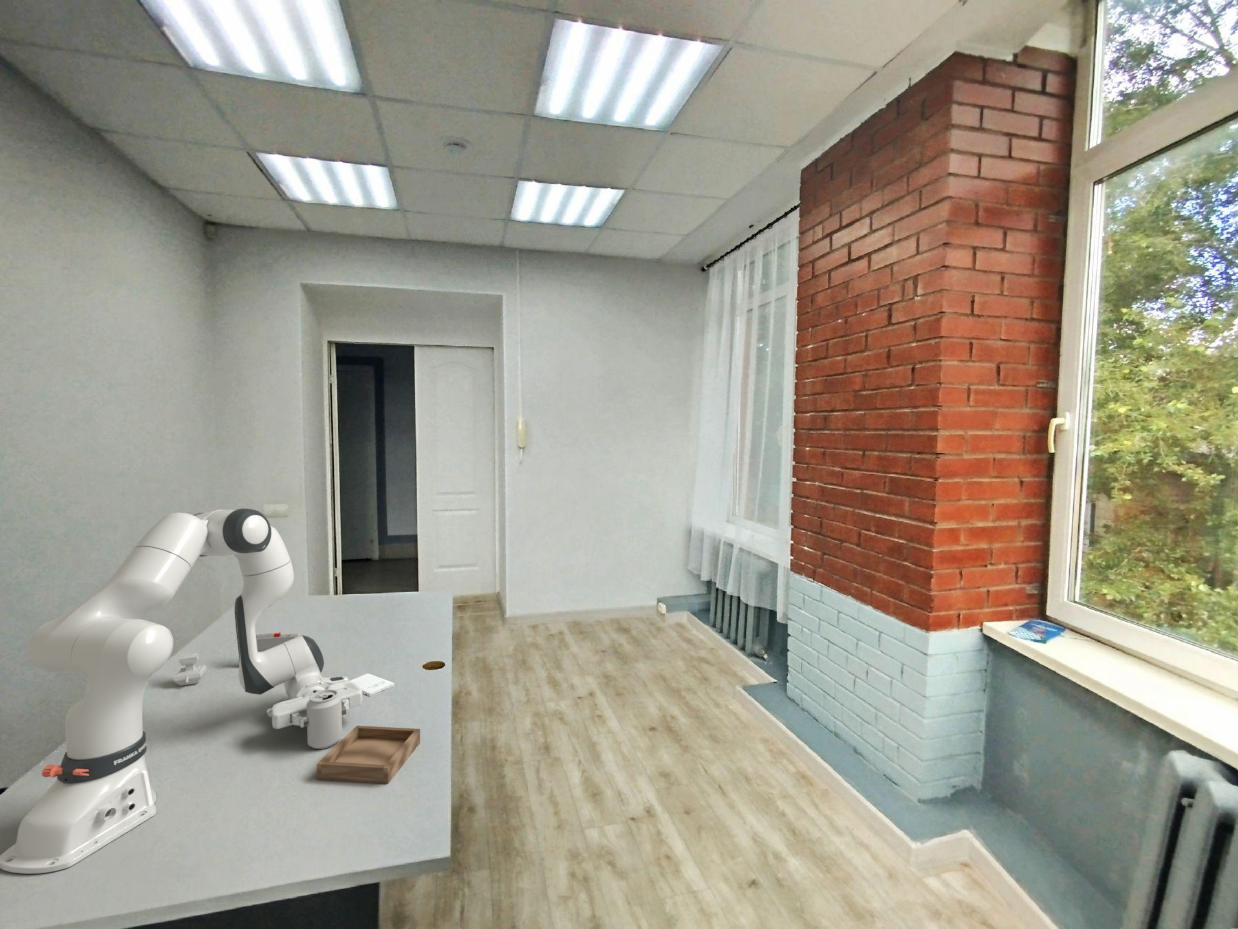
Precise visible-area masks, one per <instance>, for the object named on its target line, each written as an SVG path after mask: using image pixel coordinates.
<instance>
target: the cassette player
mask: <svg viewBox="0 0 1238 929" xmlns="http://www.w3.org/2000/svg"><path fill="white" fill-rule="evenodd" d="M298 635H299V634H298V633H288V634H281V632H271V633H257V634H256V641H257V651H258V652H263V651H265V650H268V649H270V648H273V647H275V646H278V645H280V644H282V643H284V642H287V641H289V640H291V639H294V638H296V637H299V636H298Z"/></svg>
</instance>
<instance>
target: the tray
mask: <svg viewBox="0 0 1238 929" xmlns="http://www.w3.org/2000/svg"><path fill="white" fill-rule="evenodd" d="M420 744H421V729H420V728H408V727H407V728H406V727H391V726H387V727H386V726H373V725H370V726H369V725H356V726H355V727H354V728H352V729H351V731H349V732H348V734H346V735H345V736H344V738H341V739H340V740H339V741H338V742H337V743H336V744H335V746H334V747H333V748H332V749H331V750H330V751H329V752H328V753H327V754H326V755H325V756H324V757H322V758H321V759H320V760H319V761H318V762H317V763H316V777H317V778H316V780H320V781H335V782H336V781H338V782H353V783H367V784H368V783H371V784H386V785H387V784H388V785H389V783H390V782H391V781H392V780H393V778H394V777H395V776H396V774H398V772H399V771H400V769H401V768H402V767H403V766H404V765H405V763H406V762H407V760H408V759H409V758H410V756H412V754H413V753H414V752H415V751H416V749H417V748H418V747H419V745H420ZM416 747H417V748H416Z"/></svg>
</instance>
